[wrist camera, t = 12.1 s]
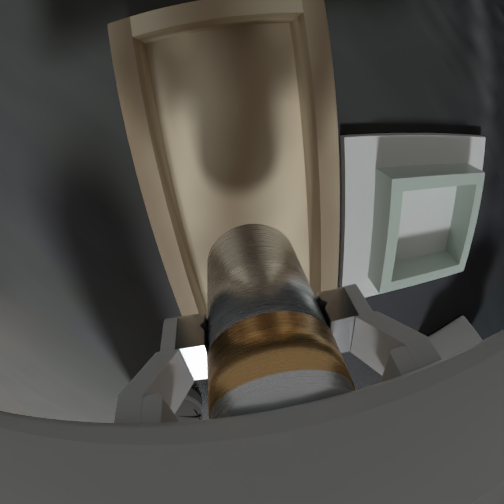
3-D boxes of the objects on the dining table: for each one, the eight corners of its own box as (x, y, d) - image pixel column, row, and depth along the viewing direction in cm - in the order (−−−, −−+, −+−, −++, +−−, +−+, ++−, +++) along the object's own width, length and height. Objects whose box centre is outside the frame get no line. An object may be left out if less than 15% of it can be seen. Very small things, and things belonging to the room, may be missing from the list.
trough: (301, 9, 12) (323, -7, 9) (318, 332, 24) (330, 365, 21) (128, 34, 12) (107, 24, 9) (209, 352, 24) (210, 387, 21)
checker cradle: (480, 135, 16) (504, 145, 14) (456, 268, 23) (473, 285, 20) (340, 135, 16) (359, 145, 14) (338, 297, 22) (349, 321, 20)
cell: (292, 215, 13) (372, 367, 6) (297, 290, 15) (350, 435, 8) (197, 232, 13) (190, 403, 6) (216, 304, 15) (226, 459, 8)
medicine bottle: (410, 345, 28) (460, 437, 17) (463, 313, 26) (520, 394, 16) (413, 374, 31) (451, 452, 21) (459, 346, 30) (503, 417, 20)
